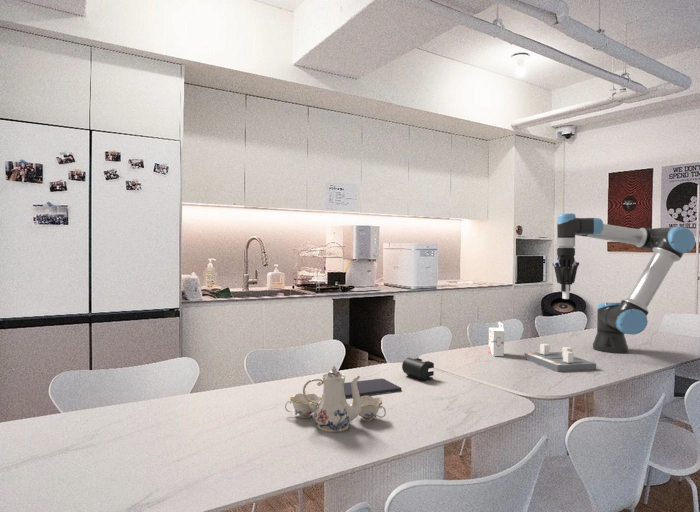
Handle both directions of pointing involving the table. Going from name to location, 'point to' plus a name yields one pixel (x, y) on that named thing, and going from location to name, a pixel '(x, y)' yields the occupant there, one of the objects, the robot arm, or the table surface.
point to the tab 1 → (544, 349)
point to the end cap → (418, 368)
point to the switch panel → (559, 362)
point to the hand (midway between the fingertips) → (565, 298)
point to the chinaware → (335, 403)
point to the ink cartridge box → (496, 340)
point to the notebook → (371, 387)
